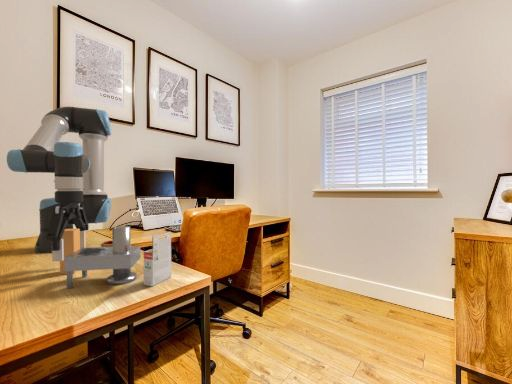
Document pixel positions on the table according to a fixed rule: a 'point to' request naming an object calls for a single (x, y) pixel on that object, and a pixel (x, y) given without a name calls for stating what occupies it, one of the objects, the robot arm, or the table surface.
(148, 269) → the ink box
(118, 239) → the legged grey stand
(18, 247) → the table surface
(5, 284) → the table surface
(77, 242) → the orange rectangular prism
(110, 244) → the mug
